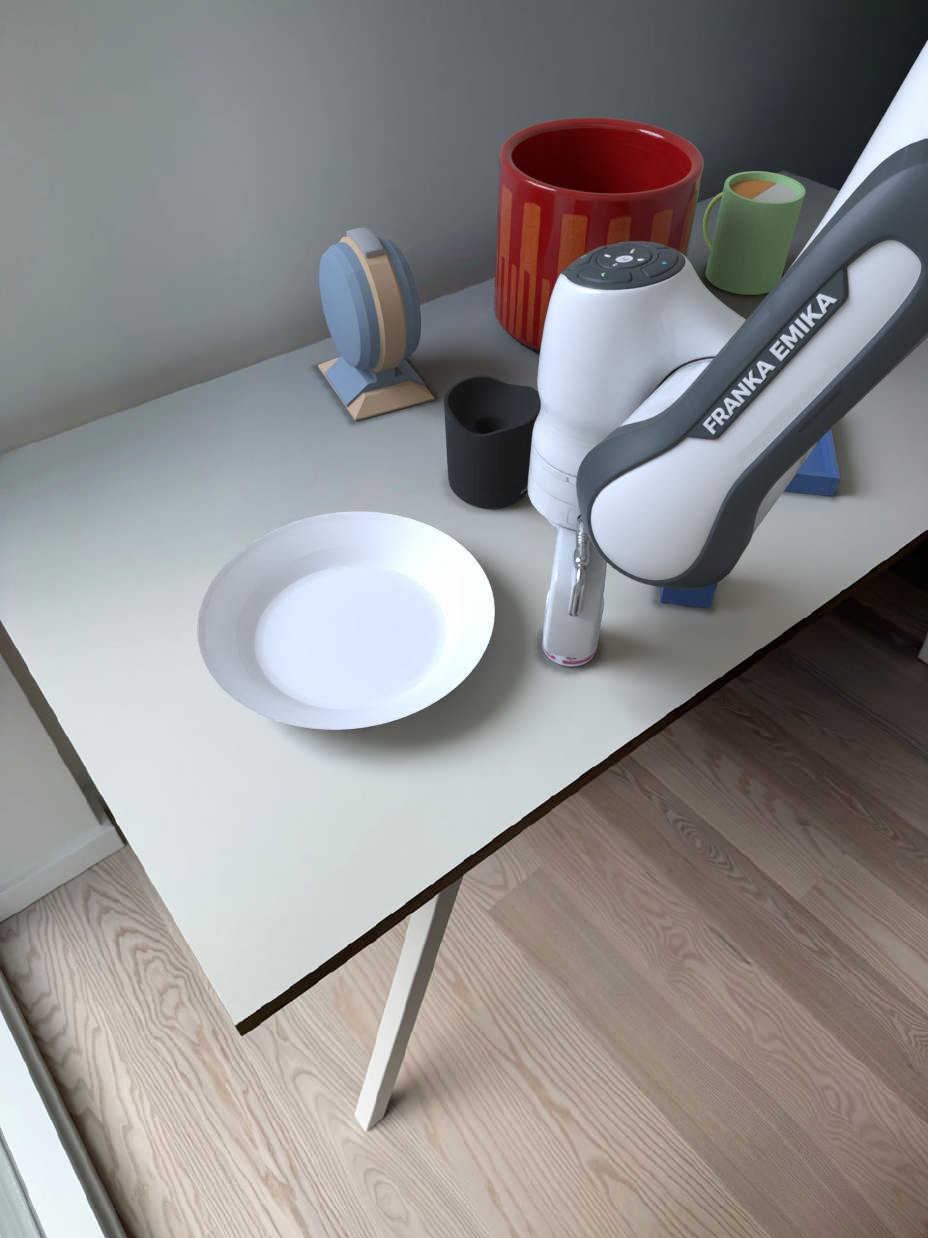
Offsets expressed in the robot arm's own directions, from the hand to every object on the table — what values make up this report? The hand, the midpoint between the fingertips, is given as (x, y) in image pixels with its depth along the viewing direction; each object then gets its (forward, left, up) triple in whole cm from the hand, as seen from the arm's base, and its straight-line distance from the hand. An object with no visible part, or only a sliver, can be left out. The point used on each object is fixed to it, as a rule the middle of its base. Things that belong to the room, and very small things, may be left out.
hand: (570, 606), depth 74 cm
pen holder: (+10, -21, -6) cm, 24 cm away
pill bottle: (0, 0, -6) cm, 6 cm away
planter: (+3, -56, -6) cm, 56 cm away
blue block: (-10, -9, -5) cm, 15 cm away
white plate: (+19, +2, -6) cm, 19 cm away
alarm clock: (+26, -37, -6) cm, 45 cm away
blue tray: (-19, -32, -5) cm, 38 cm away
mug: (-17, -72, -6) cm, 74 cm away
